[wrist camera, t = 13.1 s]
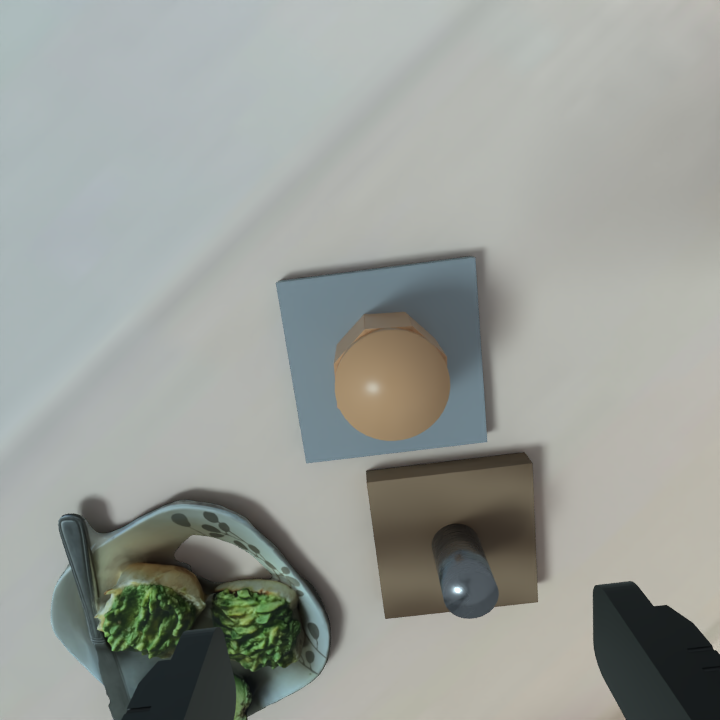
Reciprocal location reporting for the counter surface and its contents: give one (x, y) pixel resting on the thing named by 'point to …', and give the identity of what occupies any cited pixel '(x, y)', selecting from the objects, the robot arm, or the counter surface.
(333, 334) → the tile
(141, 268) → the counter surface
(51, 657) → the counter surface
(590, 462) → the counter surface
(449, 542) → the post stand
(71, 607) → the salad plate
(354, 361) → the cap
